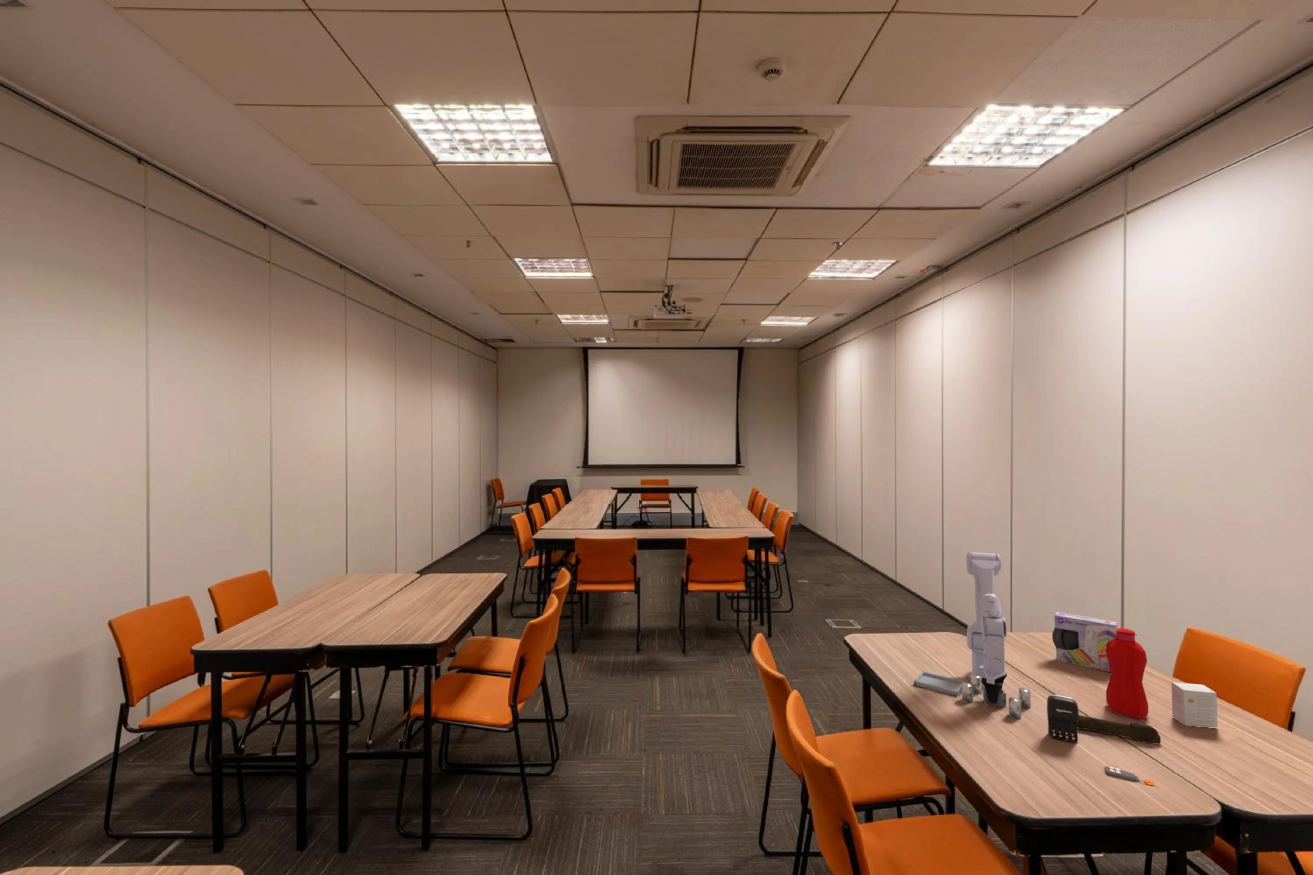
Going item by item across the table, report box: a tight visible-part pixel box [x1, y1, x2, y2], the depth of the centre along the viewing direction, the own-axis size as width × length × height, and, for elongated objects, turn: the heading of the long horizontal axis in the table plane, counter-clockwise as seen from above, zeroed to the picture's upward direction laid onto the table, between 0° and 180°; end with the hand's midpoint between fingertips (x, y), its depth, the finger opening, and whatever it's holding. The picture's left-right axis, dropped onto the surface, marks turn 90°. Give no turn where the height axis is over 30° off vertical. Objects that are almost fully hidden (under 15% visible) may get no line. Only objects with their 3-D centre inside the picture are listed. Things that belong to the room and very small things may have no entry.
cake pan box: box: [1051, 611, 1119, 673], centre depth 200 cm, size 19×5×18 cm, turn 42°
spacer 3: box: [1008, 697, 1022, 720], centre depth 163 cm, size 3×3×5 cm
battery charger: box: [1046, 694, 1080, 743], centre depth 150 cm, size 7×4×11 cm, turn 61°
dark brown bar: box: [1078, 714, 1162, 745], centre depth 152 cm, size 19×4×5 cm, turn 57°
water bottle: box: [1099, 627, 1149, 720], centre depth 166 cm, size 9×11×25 cm
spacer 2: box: [970, 674, 983, 694], centre depth 179 cm, size 3×3×5 cm
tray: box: [913, 670, 965, 697], centre depth 184 cm, size 10×13×2 cm
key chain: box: [1104, 765, 1155, 786], centre depth 132 cm, size 13×4×2 cm, turn 55°
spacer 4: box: [1018, 687, 1032, 709], centre depth 169 cm, size 3×3×5 cm
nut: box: [982, 687, 1007, 709], centre depth 171 cm, size 6×6×4 cm
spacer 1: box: [961, 682, 974, 703], centre depth 173 cm, size 3×3×5 cm
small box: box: [1171, 681, 1219, 728], centre depth 158 cm, size 8×6×10 cm
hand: (994, 698), depth 171 cm, fingers closed on nut, 6 cm apart
